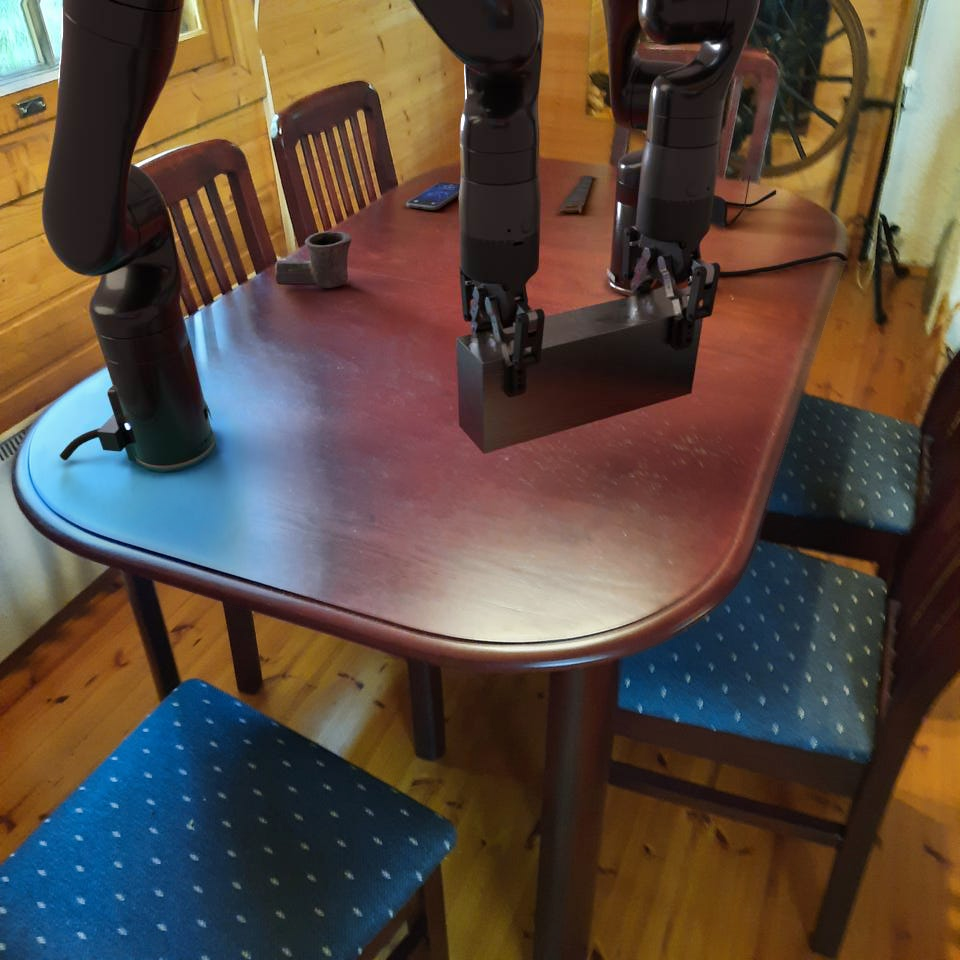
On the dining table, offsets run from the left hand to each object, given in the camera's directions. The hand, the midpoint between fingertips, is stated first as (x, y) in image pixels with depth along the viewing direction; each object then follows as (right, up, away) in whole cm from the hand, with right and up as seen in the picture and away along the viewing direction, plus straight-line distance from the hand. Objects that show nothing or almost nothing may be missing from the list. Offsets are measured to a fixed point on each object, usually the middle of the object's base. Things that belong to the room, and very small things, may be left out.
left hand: (499, 379), depth 89 cm
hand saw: (+19, +47, +85) cm, 99 cm away
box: (+9, -3, +7) cm, 12 cm away
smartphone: (-11, +47, +85) cm, 98 cm away
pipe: (-29, +21, +52) cm, 63 cm away
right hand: (+18, +6, +7) cm, 20 cm away
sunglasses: (+46, +41, +75) cm, 98 cm away
